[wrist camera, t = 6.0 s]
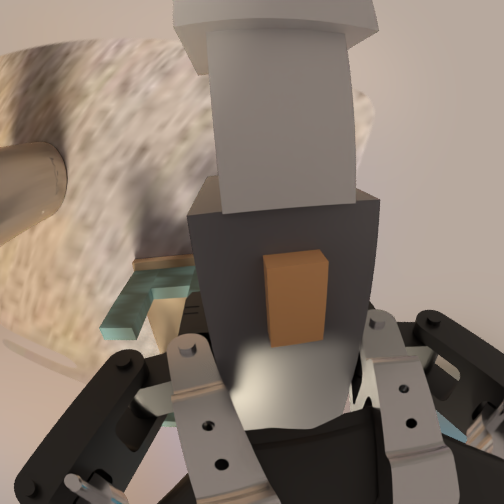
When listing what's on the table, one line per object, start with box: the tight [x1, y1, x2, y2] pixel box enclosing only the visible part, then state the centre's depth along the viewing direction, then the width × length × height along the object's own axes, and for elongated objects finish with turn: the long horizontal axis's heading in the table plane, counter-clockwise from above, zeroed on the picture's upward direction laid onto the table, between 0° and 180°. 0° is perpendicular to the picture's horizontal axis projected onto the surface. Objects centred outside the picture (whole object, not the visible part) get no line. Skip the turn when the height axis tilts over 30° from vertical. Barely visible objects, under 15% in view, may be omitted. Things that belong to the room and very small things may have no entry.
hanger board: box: [99, 254, 200, 427], centre depth 26 cm, size 10×16×11 cm, turn 4°
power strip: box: [173, 0, 380, 430], centre depth 9 cm, size 4×19×6 cm, turn 5°
